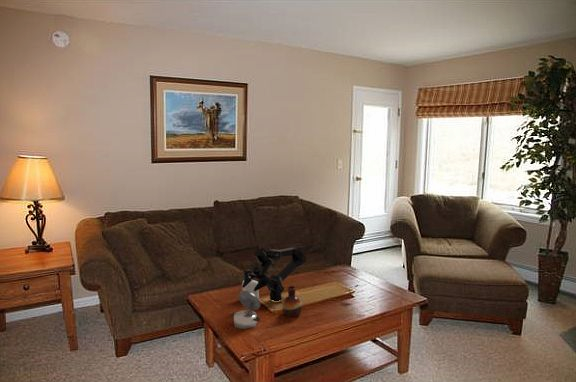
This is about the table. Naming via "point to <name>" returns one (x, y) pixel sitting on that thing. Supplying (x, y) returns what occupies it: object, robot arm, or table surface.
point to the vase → (292, 303)
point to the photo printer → (251, 288)
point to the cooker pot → (245, 319)
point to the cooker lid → (249, 300)
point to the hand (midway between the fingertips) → (248, 289)
